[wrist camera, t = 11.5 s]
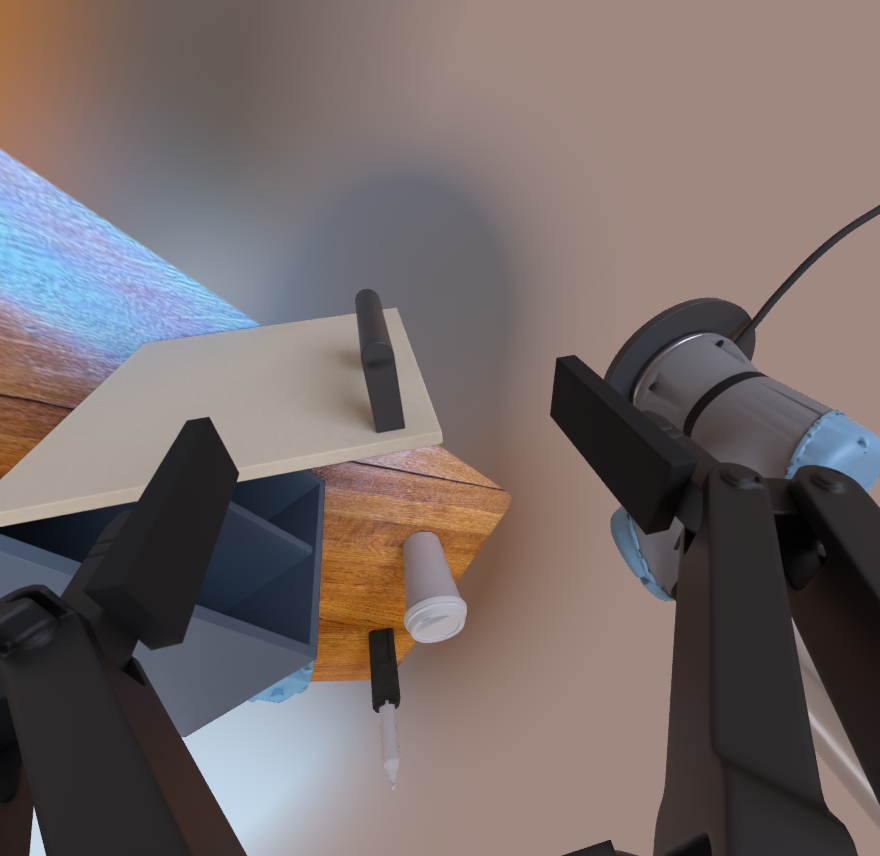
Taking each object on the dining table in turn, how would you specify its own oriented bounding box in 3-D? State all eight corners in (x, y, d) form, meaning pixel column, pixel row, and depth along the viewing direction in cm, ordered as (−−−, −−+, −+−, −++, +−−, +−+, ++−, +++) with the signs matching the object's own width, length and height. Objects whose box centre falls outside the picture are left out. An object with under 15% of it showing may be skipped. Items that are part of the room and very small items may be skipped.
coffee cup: (444, 519, 64) (468, 602, 52) (449, 553, 70) (472, 635, 58) (389, 533, 63) (400, 620, 51) (398, 566, 69) (410, 651, 57)
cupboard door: (109, 283, 35) (-158, 430, 16) (388, 249, 38) (434, 340, 20) (148, 351, 39) (-29, 532, 20) (397, 316, 43) (442, 444, 24)
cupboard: (142, 351, 39) (-47, 536, 20) (325, 481, 54) (317, 659, 35) (37, 446, 43) (-209, 682, 24) (236, 544, 58) (185, 737, 39)
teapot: (281, 667, 81) (274, 724, 73) (219, 653, 73) (204, 714, 65) (340, 627, 77) (340, 682, 69) (281, 606, 69) (273, 666, 61)
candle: (368, 643, 82) (377, 798, 63) (368, 631, 80) (378, 789, 60) (392, 639, 84) (408, 790, 64) (393, 627, 81) (410, 781, 61)
